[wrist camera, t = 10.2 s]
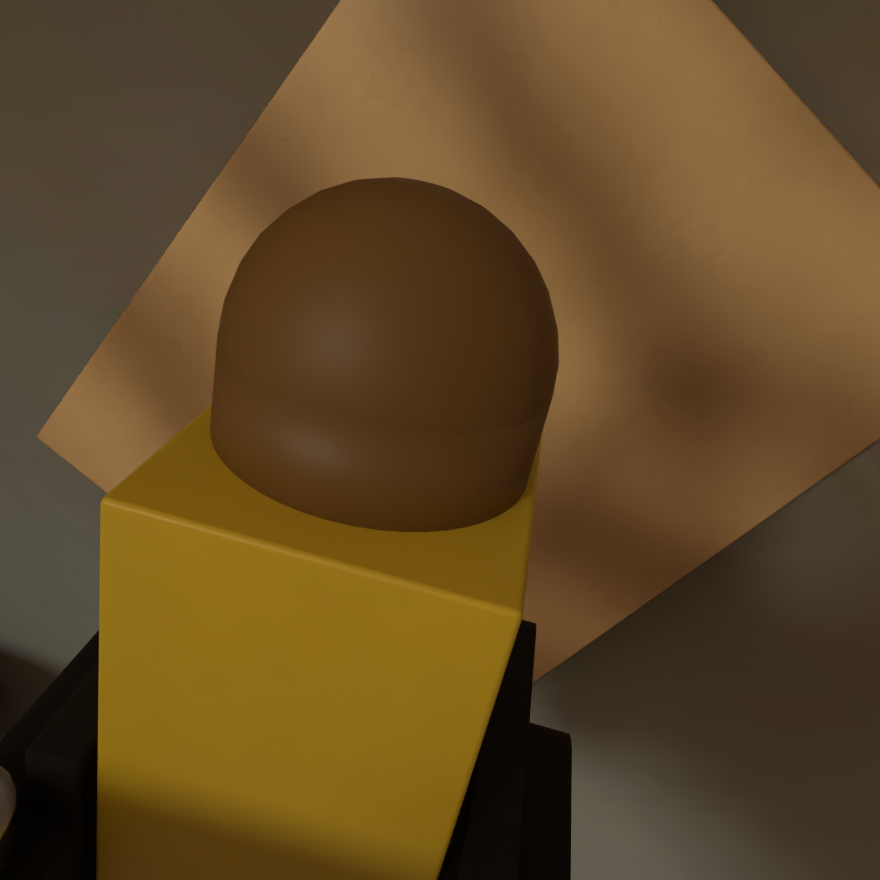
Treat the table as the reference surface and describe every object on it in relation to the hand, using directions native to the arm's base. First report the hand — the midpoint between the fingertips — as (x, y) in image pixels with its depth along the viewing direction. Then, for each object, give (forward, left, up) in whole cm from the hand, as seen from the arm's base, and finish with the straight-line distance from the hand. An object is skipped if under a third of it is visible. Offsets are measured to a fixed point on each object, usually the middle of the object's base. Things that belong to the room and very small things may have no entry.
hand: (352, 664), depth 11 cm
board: (0, 0, -12) cm, 12 cm away
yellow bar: (0, 0, 0) cm, 0 cm away
